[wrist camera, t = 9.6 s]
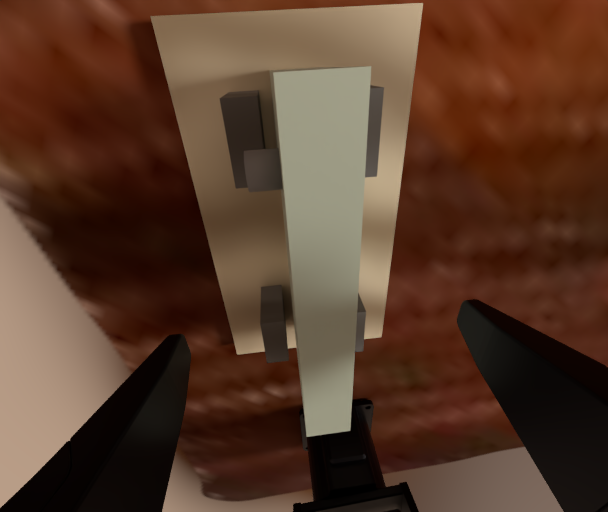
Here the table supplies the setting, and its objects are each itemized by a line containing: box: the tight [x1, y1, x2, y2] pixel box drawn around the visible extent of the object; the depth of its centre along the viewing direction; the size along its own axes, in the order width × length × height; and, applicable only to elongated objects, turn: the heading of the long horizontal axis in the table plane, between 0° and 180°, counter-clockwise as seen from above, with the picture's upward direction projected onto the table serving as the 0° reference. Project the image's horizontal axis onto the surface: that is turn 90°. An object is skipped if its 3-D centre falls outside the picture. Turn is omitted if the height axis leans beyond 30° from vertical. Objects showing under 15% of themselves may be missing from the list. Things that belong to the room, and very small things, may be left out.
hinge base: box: [151, 3, 423, 363], centre depth 15 cm, size 18×10×4 cm, turn 3°
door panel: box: [244, 66, 371, 437], centre depth 13 cm, size 14×3×7 cm, turn 3°
